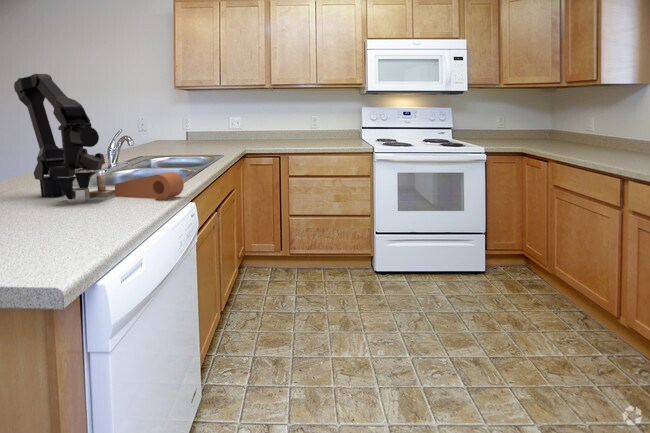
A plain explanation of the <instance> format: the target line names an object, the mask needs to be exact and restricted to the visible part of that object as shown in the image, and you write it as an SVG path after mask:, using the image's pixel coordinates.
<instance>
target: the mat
mask: <svg viewBox="0 0 650 433" xmlns="http://www.w3.org/2000/svg"><path fill="white" fill-rule="evenodd" d="M117 197H118V196H115V195H112V196H109V197H90V200H88V201H84V202H66V201H65V199H64V200H61V201H57V202H56V203H59V204H62V203H63V204H64V203H65V204H100V203H102V202H105V201H108V200H111V199H114V198H117Z"/></svg>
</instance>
